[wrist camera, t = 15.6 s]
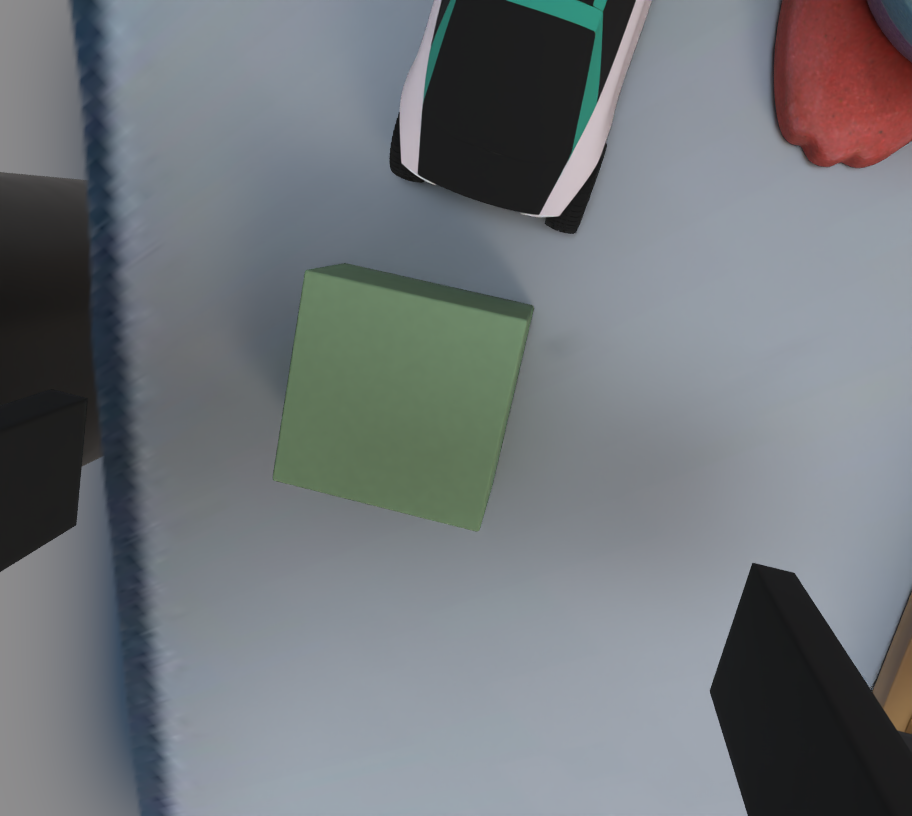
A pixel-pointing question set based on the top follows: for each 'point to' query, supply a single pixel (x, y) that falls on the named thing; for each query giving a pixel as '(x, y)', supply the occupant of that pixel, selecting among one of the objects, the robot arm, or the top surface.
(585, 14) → the toy car
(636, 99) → the top surface
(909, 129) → the stacking bear
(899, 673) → the frame
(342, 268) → the sage block
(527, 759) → the top surface
